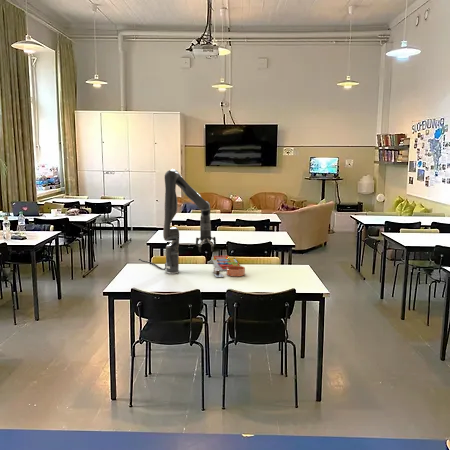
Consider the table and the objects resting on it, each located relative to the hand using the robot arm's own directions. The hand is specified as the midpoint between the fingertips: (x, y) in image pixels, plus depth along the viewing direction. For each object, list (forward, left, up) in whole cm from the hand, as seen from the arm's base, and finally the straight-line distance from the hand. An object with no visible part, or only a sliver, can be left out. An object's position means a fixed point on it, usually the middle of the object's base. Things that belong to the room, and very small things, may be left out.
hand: (206, 251), depth 322 cm
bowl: (+5, +21, -17) cm, 27 cm away
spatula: (+3, +8, -17) cm, 19 cm away
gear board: (-29, +22, -17) cm, 40 cm away
